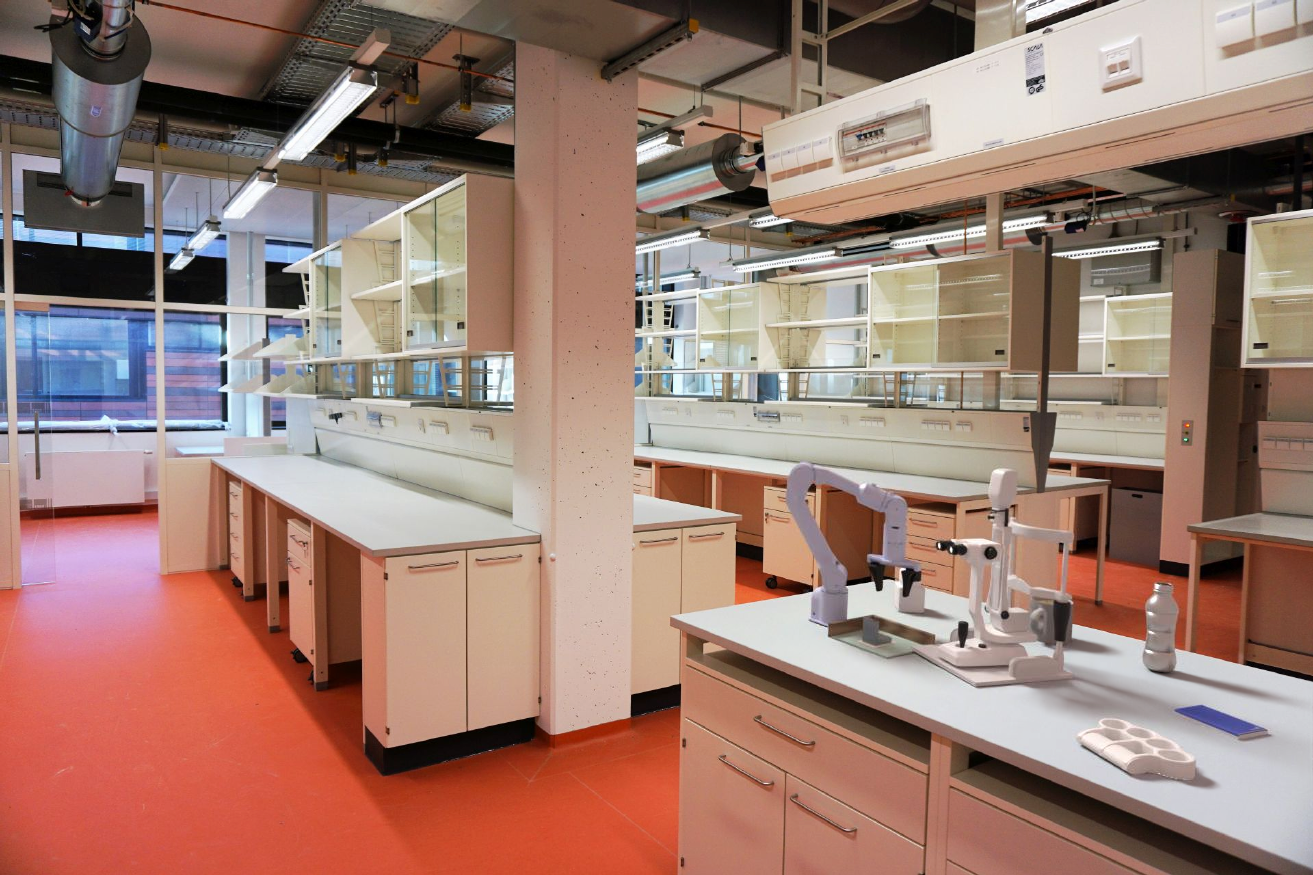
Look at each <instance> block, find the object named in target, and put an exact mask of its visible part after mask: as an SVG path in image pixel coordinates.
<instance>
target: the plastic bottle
mask: <svg viewBox="0 0 1313 875" xmlns="http://www.w3.org/2000/svg"><path fill="white" fill-rule="evenodd" d="M1152 591H1153V592H1154V593H1153V594H1152V595H1151V596H1150V597H1149V598H1148V599H1147V601H1146V602H1145V603H1144V604H1145V606H1144V607H1145V609H1144V610H1145V618H1146V637H1145V644H1144V648H1143V652H1142V656H1141V657H1142V664H1143V665H1144V667H1145V668H1146V669H1149V670H1151V671H1155V672H1159V673H1162V672H1163V673H1171V672H1173V671H1174V670H1175V669H1176V666H1177V655H1176V648H1175V644H1176V643H1175V636H1176V634H1175V633H1176V626H1177V622H1178V618H1179V613H1180V609H1179V604H1178V603H1177V602H1176V599H1175V598H1174V597H1173V594H1174V584H1173V583H1172V584H1171V583H1167V582H1160V581H1159V582H1154V583H1153V589H1152Z"/></svg>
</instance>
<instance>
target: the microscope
mask: <svg viewBox="0 0 1313 875" xmlns="http://www.w3.org/2000/svg"><path fill="white" fill-rule="evenodd" d="M1018 478H1019V477H1018V472H1017V471H1016V470H1015V469H1011V468H997V469H994V470H993V471H992V472H991V476H990V481H989V485H988V490H987V496H988V498H989V501H990V504H991V508H990V507H986V508H985V510H986V511H990V515H987V520H989V521H990V522H993V523H992V529H991V530H992V531H991V532H992V533H991V540H988V539H985V538H963V539H961V538H960V539H957V538H951V539H947V540H939V541H936V542H935V549H936V550H937V551H940V552H945V551H946V552H947V554H948V555H951V556H955V557H957V556H960V558H962V560H965V561H966V563H967V564H970V577H969V578H970V581H969V596H968V613H969V615H970V617H971V619H972V624H973V627H970V626H969V622H968V621H965V620H959V621H958V622H957V628H954V629H953V630H951V633H950V636H949V642H946V643H938V644H936V643H935V644H934V645H919V646H911V650H913V651H914V653H917V654H918V655H920V656H921V657H922V658H925V659H926V660H928V661H930V662H932V663H934V664H935V665H937V666H939V667H940V668H942V669H944V670H946V671H947V672H949V673H951V674H952V675H954V676H957V677H958V678H959V679H961V680H963V681H965V682H967V683H968V684H969V685H971V686H973V687H976V688H977V687H986V686H997V685H999V686H1000V685H1009V684H1023V683H1035V682H1036V683H1037V682H1047V681H1058V680H1060V681H1061V680H1069V679H1070V680H1071V679H1074V678H1075V674H1074V673H1071V672H1069V671H1067V670H1065V669H1064V664H1065V663H1064V662H1065V654H1064V649H1063V645H1064V644H1063V642H1064V641H1065V640H1066V632H1067V627H1068V623H1069V619H1070V612H1071V603H1070V602H1068V600H1071V601H1072V600H1073V595H1072V594H1070V593H1069V592H1067V578H1068V566H1069V553H1070V552H1069V551H1070V550H1069V549H1070V544H1072V543H1073V542H1074V539H1075V534H1074V532H1073V531H1070V530H1062V529H1061V530H1060V529H1059V530H1058V529H1052V528H1044V527H1036V526H1029V525H1025V524H1022V523H1018V519H1017V518H1016V517H1015V516H1011V510H1010V508H1011V507H1012V504H1013V502H1014V501H1015V500H1016V498H1017V494H1018ZM1016 536H1017V537H1021V538H1024V539H1030V540H1037V541H1043V542H1044V541H1045V542H1053V543H1062V544H1063V552H1062V553H1063V554H1062V564H1061V580H1060V590H1056V589H1051V588H1045V587H1042V586H1035V587H1031V585H1029V584H1028V583H1027V582H1026V581H1025V580H1024V579H1022V578H1019V577H1018V575H1017V574H1014V564H1015V550H1016V548H1015V547H1016ZM1000 542H1002V543H1000ZM1002 545H1003V549H1002ZM1008 550H1009V554H1008ZM990 566H991V570H990V571H991V572H990V585H989V586H990V587H989V590H988V595H987V598H986V603H985V605H984V611H985V612H986V613H988V614H990V615H989V623H985V622H984V616H983V614H982V613H983V612H982V608H983V607H982V605H983V592H984V590H983V589H984V577H985V576H984V574H985V573H984V572H985V568H986V567H990ZM1013 590H1014V591H1017V592H1019V593H1023V594H1025V595H1028V596H1031V597H1032V596H1036V597H1042V598H1048V599H1054V602H1053V621H1054V640H1056V641H1057V643H1056V644H1055V645H1056V646H1055V650H1054V652H1053V654H1052V657H1050V656H1048V655H1046V654H1045V655H1042V654H1041V655H1034V654H1031V653H1029V652H1028V651H1027V650H1026V647H1025V646H1024V645H1022V644H1026V643H1027V644H1028V643H1036V642H1038V641H1037V635H1035V634H1033V633H1031V632H1029V626H1030V610H1026V609H1023V608H1020V607H1018V606H1017V607H1012V596H1013Z"/></svg>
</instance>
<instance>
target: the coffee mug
mask: <svg viewBox="0 0 1313 875" xmlns="http://www.w3.org/2000/svg"><path fill="white" fill-rule="evenodd" d="M1053 602H1054V599H1048V598H1042V597H1036V596H1031V597H1030V602H1029V603H1030V604H1029V612H1030V626H1029V631H1028V632H1031V633H1033V634H1035V635H1037V641H1036V642H1041V643H1042V644H1043V643H1044V644H1050V645H1056V643H1057V641H1056V640H1054V621H1053ZM1068 602H1070V603H1071V612H1070V619H1069V623H1068V627H1067V632H1066V640H1065V641H1064V642H1063V645H1068V643H1069V644H1071V643H1072V642H1073V641H1072V638H1073V624H1074V623H1073V622H1074V620H1073V619H1074V607H1075V606H1074V604H1075V603H1074V602H1073V601H1072V599H1071V600H1068Z"/></svg>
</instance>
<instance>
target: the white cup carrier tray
mask: <svg viewBox="0 0 1313 875" xmlns="http://www.w3.org/2000/svg"><path fill="white" fill-rule="evenodd" d="M1075 739H1076V742H1077V743H1078V744H1080V745H1082V746H1083V747H1085V748H1087V749H1089V750H1091V751H1092V752H1094V753H1095V754H1097V755H1099V756H1100V757H1102V758H1103V759H1105V760H1106V759H1107V760H1106V761H1108V762H1110V763H1111V764H1114V766H1116V767H1117V766H1118V767H1119V768H1120V769H1122V770H1123V771H1126V773H1128V774H1130V775H1133V774H1134V775H1138V774H1137V773H1143V774H1147V773H1146V772H1149V773H1150V772H1151V774H1156V773H1160V774H1161V775H1160V774H1159V775H1160V776H1162V775H1165V776H1168V777H1173V778H1177V779H1191V780H1194V779H1195V778H1194V777H1196V763H1197V760H1196V757H1195V756H1194V755H1193V754H1190V753H1188V752H1186V751H1184V750H1183V749H1182V747H1181V745H1179V744H1178V743H1177V742H1176V741H1174V740H1170V739H1168V738H1165V737H1163V736H1162V735H1160V734H1159V733H1158V732H1156V731H1153V730H1151V729H1148V728H1144V727H1139V726H1137V725H1134V724H1131V723H1130V722H1129V721H1127V720H1123V719H1119V718H1111V717H1110V718H1101V719H1100V720H1099V722H1098V727H1095V728H1093V727H1092V728H1089V729H1085V730H1082V731H1080V732H1079V733H1077V734H1076V737H1075ZM1165 776H1164V777H1165ZM1168 777H1167V778H1168ZM1193 778H1194V779H1193ZM1177 779H1176V780H1177Z"/></svg>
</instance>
